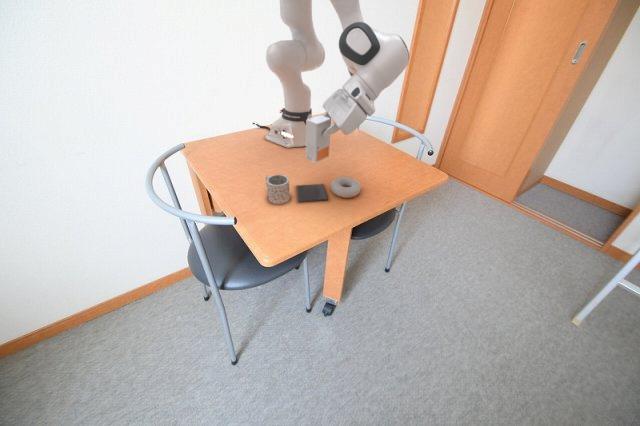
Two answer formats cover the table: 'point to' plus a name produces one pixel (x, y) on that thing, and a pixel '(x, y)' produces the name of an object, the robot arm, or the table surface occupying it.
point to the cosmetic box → (317, 138)
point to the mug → (278, 188)
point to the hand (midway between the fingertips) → (321, 131)
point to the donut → (345, 187)
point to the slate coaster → (311, 193)
